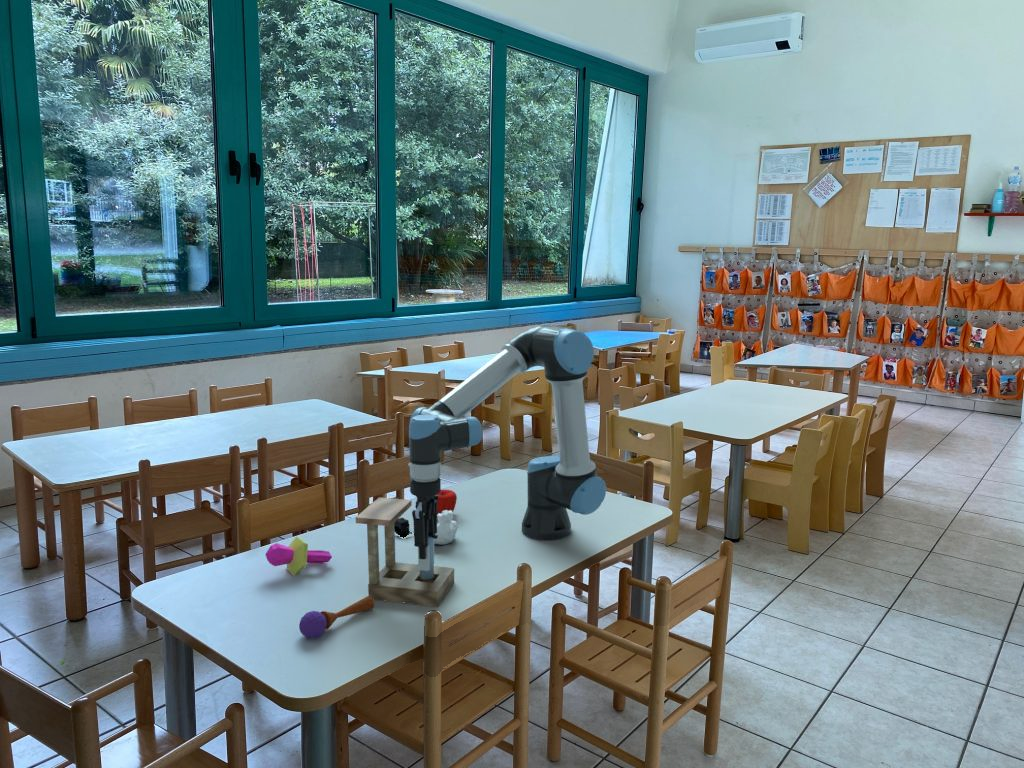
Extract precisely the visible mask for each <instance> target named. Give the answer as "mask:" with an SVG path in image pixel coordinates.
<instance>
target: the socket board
mask: <svg viewBox="0 0 1024 768" xmlns="http://www.w3.org/2000/svg"><path fill="white" fill-rule="evenodd" d="M379 578H380V581H379V582H378V583H377V584H370V583H369V582H368V584H367V588H368V589H367V591H368V596H370V597H371V598H372V599H377V600H376V601H380V600H386V601H385V602H389V601H395V602H394V603H398V602H405V603H404V604H407V603H413V604H412V605H416V604H420V605H419V606H425V605H426V607H435V608H438V607H439V605H440V604H441V602H442V601H443V600H444V599H445V597H446V596H447V594H448V592H449V591H450V589H451V588H452V586H453V585H454V583H455V567H448V566H447V567H446V566H445V567H444V566H438V565H437V566H436V565H434V577H433V578H431V579H421V578H420V570H418V564H416V563H409V562H408V563H407V562H397V561H395V564H394V565H393V566H386V564H385V565H384V567H383V568H382V569H381V570H379ZM427 605H428V606H427Z"/></svg>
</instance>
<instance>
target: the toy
mask: <svg viewBox="0 0 1024 768" xmlns="http://www.w3.org/2000/svg"><path fill="white" fill-rule="evenodd" d="M308 549H309V544H308V543H307V542H306V541H305V540H303V538H301V537H300V536H295V537H294V539H293V540H292V541H291V543H290V544H289V545H288V546H287V545H284V544H280V543H274V544H271V545H270V546H269V548H268V549H267V550H266V553H265V557H266V558H265V559H266V560H267V562H268V564H270V565H272V566H273V567H279V566H283V565H286V570H287V571H288V572H289V573H291V575H293V576H297V575H299V574H300V573H301V572H302V571H303V569H304V568H305V567H306V566H307V564H324V563H329V562H330V561H331V559H332V558H333V555H332V554H331V552H330V551H329V550H328V551H327V550H320V549H319V550H318V549H317V550H311V549H310V550H308Z"/></svg>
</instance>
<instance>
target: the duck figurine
mask: <svg viewBox="0 0 1024 768" xmlns="http://www.w3.org/2000/svg"><path fill="white" fill-rule="evenodd" d="M453 519H454V511H453V512H452V510H450V511H447V510H445V511H442V513H441V514H440V513H439V514H437V533H436V534H435V535H438V538H437V539H433V540H434V545H443V546H444V545H448V544H450V543H451V542H452V541H453V540H454V539H455V538H456V534H457V531H458V529H459V524H458V522H457V521H456V520H453Z"/></svg>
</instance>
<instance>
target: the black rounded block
mask: <svg viewBox="0 0 1024 768" xmlns="http://www.w3.org/2000/svg"><path fill="white" fill-rule="evenodd" d="M409 521H410V520H408V519H406V518H404V517H399V518H398V519H397V520H396V521H395V522H394V526H395V533H396V534H398V535H400V537H403V538H404V537H406V536H407V535H409V534H412V532H413V531H412V532H410V531H411V530H410V523H409ZM409 530H410V531H409Z"/></svg>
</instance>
